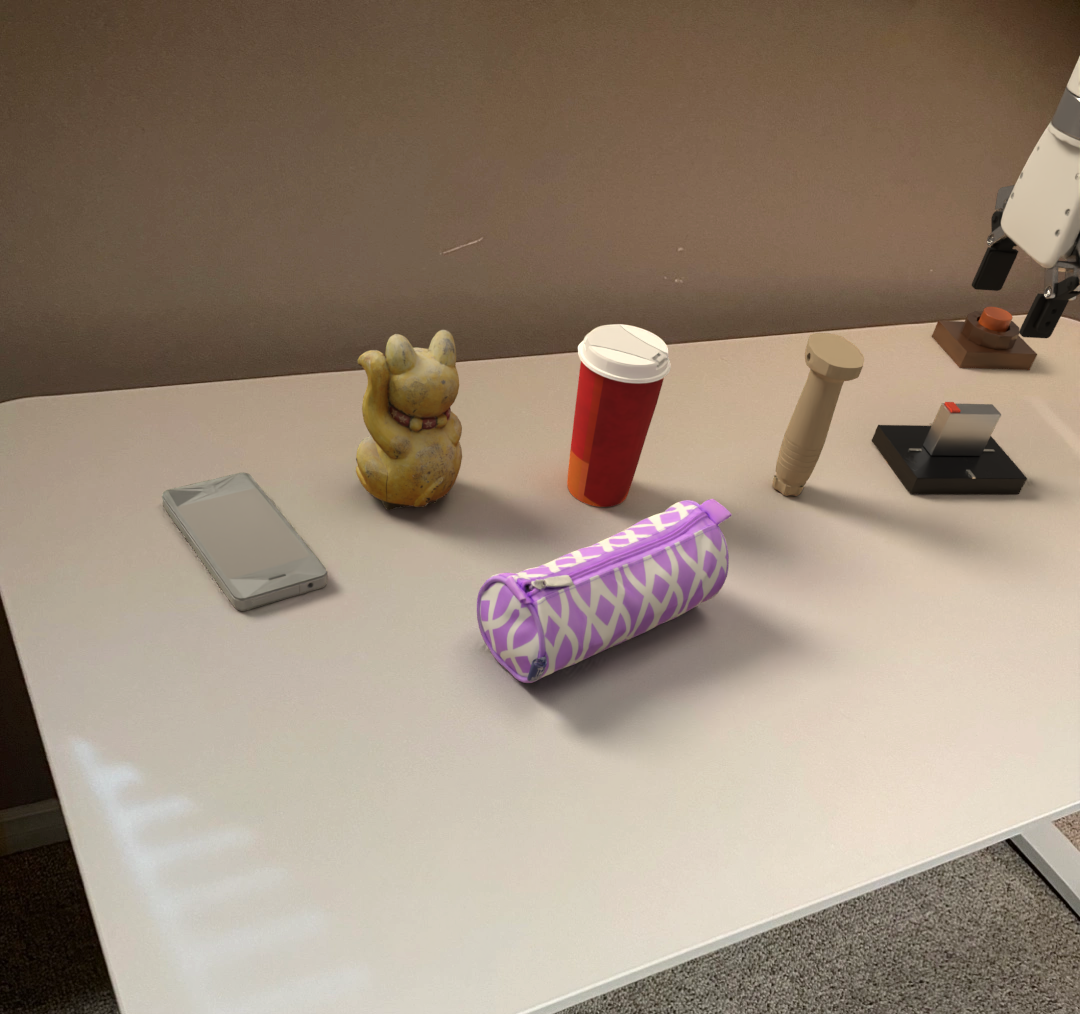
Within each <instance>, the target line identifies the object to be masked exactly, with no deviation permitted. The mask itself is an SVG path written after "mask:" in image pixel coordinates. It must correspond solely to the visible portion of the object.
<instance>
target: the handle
mask: <svg viewBox="0 0 1080 1014" xmlns="http://www.w3.org/2000/svg"><path fill="white" fill-rule="evenodd" d="M804 361H805V364H806V366H807V367H808V368H809V372H808V375H807V378H806V381H805V383H804V385H803V388H802V389H801V390H802V391H801V392H800V395H799V398H798V401H797V403H796V405H795V408H794V410H793V412H792V414H791V417H790V420H789V422H788V425H787V427H786V430H785V433H784V435H783V439H782V441H781V444H780V448H779V451H778V456H777V459H776V464H775V475H773V479H772V484H771V485H772V488H773V489H774V490H775V491H778V492H779V493H781V494H782V495H783V496H785V497H788V496H794V497H798V496H800V495H801V494H802V491H803V490H804V487H805V485H806V483H807V482H808V480H809V478H811V475H812V474H813V472H814V471H815V468H816V466H817V464H818V461H819V459H820V456H821V453H822V451H823V448H824V445H825V443H826V441H827V437H828V433H829V430H830V427H831V423H832V420H833V417H834V412H835V411H836V410H835V409H836V407H837V403H838V400H839V397H840V394H841V391H842V388H843V385H844V383H845V382H850V381H853V380H856V379H858V378H859V377H860V375H861V372H862V370H863V367H864V363H865V356H864V355H863V353H862V352H861V350H860V348H859V347H858V346H856V345H855V344H854V343H853V342H852V341H850V340H848V339H847V338H845V337H843V336H841V335H838V334H835V333H829V332H815V333H811V334H809V337H808V341H807V343H806V346H805V352H804Z"/></svg>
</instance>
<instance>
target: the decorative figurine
mask: <svg viewBox="0 0 1080 1014" xmlns="http://www.w3.org/2000/svg"><path fill="white" fill-rule="evenodd" d="M385 345H386V347H385V353H383V352H381V351H379V350H377V349H370V350H367V351H365V352H363V353H362V354H361V355H359V357H358V359H357V364H358V366H360V367H362V369H363V370H364V372H365V374H366V376H367V385H366V389H365V392H364V395H363V398H362V405H361V413H362V419H363V423H364V425H365V427H366V429H367V431H368V433H369V434H370V436H369V435H368V436H367V437H365V438H363V439H362V440H361V441H360V443H359V445H357V450H356V455H355V460H356V466H355V472H356V475H357V478H358V480H359V482H360V484H361V486H362V487H363V488H364V489H365V491H366V492H368V493H369V495H371V496H373V497H374V498H375V499H378V500H379V501H380V502H381V503H382V504H383V507H384V508H385V510H386V511H392V510H395V509H399V508H400V509H401V508H406V507H408V508H409V507H414V508H422V507H424V508H425V507H426V506H427V505H430V504H435V503H437V500H440V499H442V498H444V497H445V496H447V495H448V493H449V492H450V491H451V489H452V488H453V486H454V485H455V484H456V481H457V479H458V476H459V473H460V469H461V465H462V460H463V450H462V445H461V443H460V440H461V438H462V433H463V432H462V431H463V426H462V422H461V420H460V418H459V417H458V416H457V415H456V414H455V413H454V412H453V411H452V410H451V407H452V405H453V404H454V403H455V401H456V399H457V397H458V394H459V389H460V377H459V374H458V373H459V372H458V369H457V367H456V364H457V350H456V343H455V339H454V335H453V334H452V333H451V332H450V331H449V330H447V329H440V330H438V331H437V332H436V333H435V334H434V335H433V337H432V339H431V340H430V343H429V345H428V348H425V347H424V348H423V347H413V345H412V344H411V343H410V341H409V339H408V338H407V337H406V336H404V335H402V334H400V333H395V334H392V335H390V337H389V338H388V340H387V342H386V344H385Z"/></svg>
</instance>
